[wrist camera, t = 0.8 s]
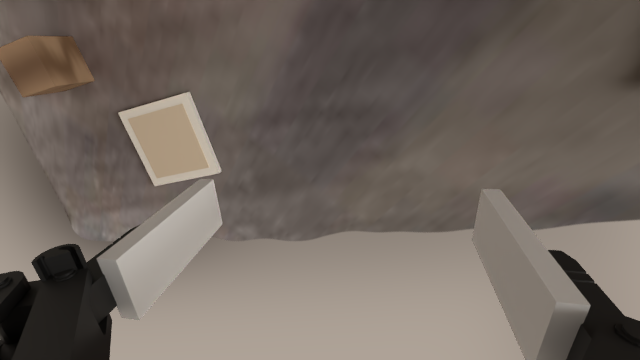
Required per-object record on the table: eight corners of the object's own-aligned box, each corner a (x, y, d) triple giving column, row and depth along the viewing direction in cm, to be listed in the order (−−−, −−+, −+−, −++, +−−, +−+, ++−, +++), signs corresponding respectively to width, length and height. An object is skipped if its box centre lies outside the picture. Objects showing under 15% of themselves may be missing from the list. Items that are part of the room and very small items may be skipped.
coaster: (122, 111, 45) (117, 112, 45) (189, 91, 42) (185, 92, 41) (157, 184, 50) (154, 186, 49) (221, 171, 46) (219, 173, 46)
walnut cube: (41, 48, 44) (-6, 49, 38) (72, 36, 42) (27, 35, 37) (65, 90, 46) (23, 97, 41) (95, 80, 44) (55, 86, 39)
